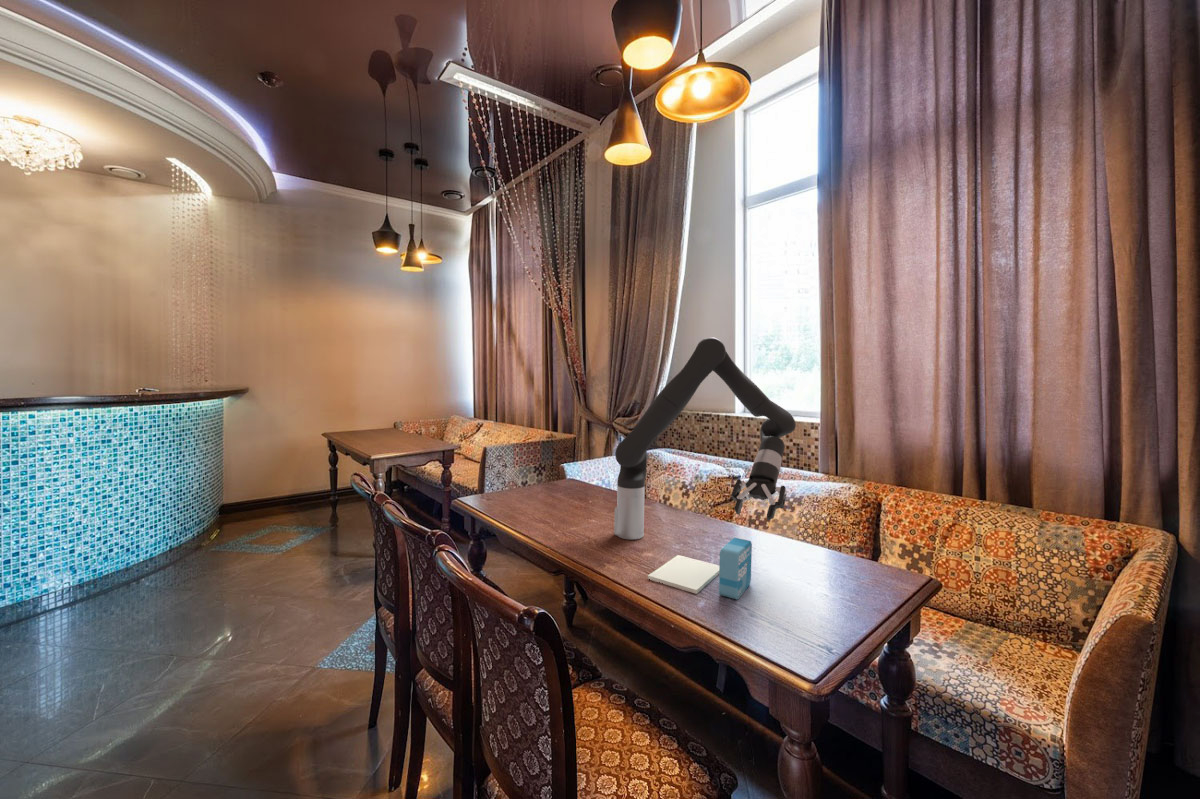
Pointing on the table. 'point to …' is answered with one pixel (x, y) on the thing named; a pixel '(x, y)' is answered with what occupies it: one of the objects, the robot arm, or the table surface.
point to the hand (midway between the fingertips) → (752, 516)
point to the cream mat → (685, 573)
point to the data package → (735, 568)
